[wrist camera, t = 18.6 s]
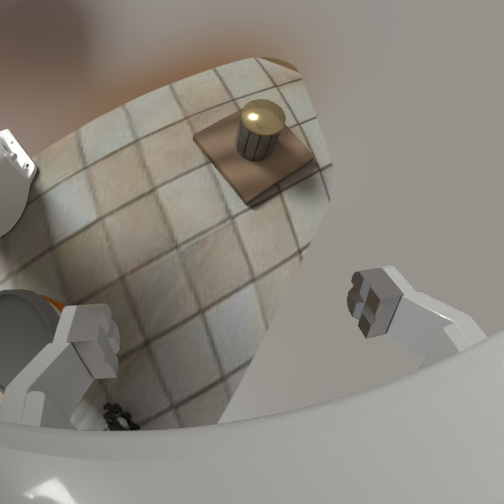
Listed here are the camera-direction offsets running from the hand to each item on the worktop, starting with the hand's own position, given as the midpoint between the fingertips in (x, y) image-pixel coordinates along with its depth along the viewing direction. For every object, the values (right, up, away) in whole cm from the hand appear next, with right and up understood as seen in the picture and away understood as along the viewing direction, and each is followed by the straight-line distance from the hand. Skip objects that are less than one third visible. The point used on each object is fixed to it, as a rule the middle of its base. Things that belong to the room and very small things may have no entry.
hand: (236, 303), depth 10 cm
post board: (+1, +18, +38) cm, 43 cm away
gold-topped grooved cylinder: (+1, +19, +37) cm, 41 cm away
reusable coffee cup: (-27, -11, +28) cm, 40 cm away
